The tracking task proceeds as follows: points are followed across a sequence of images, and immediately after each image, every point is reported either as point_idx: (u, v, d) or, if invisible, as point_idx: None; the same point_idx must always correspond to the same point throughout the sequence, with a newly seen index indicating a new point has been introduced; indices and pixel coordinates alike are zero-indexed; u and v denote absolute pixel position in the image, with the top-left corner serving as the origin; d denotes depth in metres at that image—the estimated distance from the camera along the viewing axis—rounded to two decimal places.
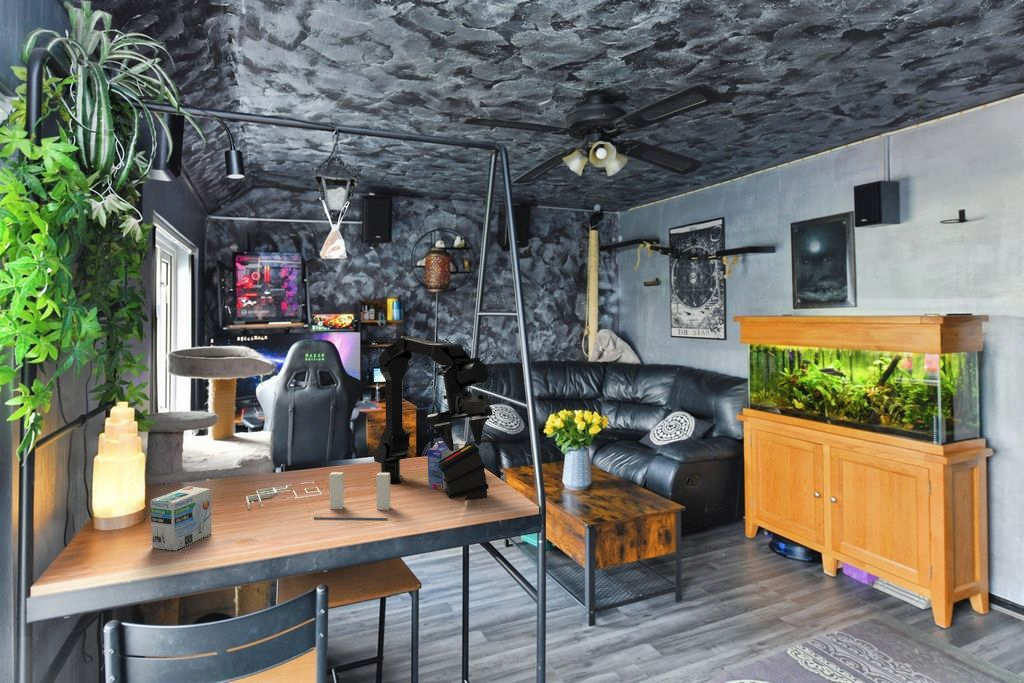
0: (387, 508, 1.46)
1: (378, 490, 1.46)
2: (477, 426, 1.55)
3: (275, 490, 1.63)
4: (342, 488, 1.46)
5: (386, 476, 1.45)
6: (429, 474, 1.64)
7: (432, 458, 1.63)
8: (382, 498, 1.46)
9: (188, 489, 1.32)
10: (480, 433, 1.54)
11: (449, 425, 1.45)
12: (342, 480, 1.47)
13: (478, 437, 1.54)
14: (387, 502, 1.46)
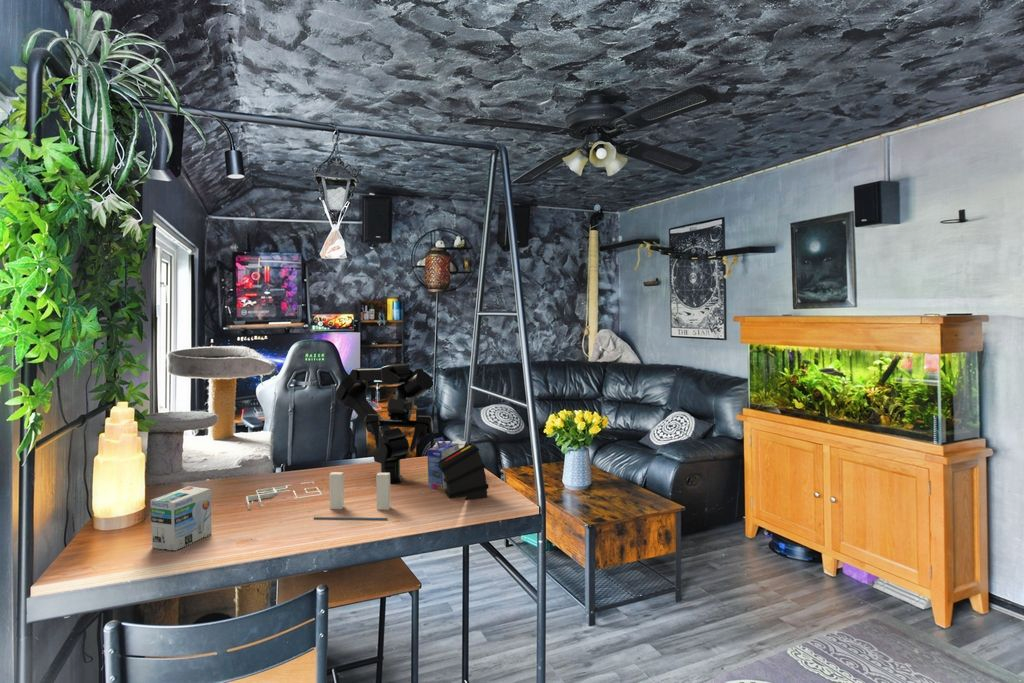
0: (387, 508, 1.46)
1: (378, 490, 1.46)
2: None
3: (275, 490, 1.63)
4: (342, 488, 1.46)
5: (386, 476, 1.45)
6: (429, 474, 1.64)
7: (432, 458, 1.63)
8: (382, 498, 1.46)
9: (188, 489, 1.32)
10: (413, 439, 1.58)
11: (374, 424, 1.59)
12: (342, 480, 1.47)
13: (411, 443, 1.57)
14: (387, 502, 1.46)
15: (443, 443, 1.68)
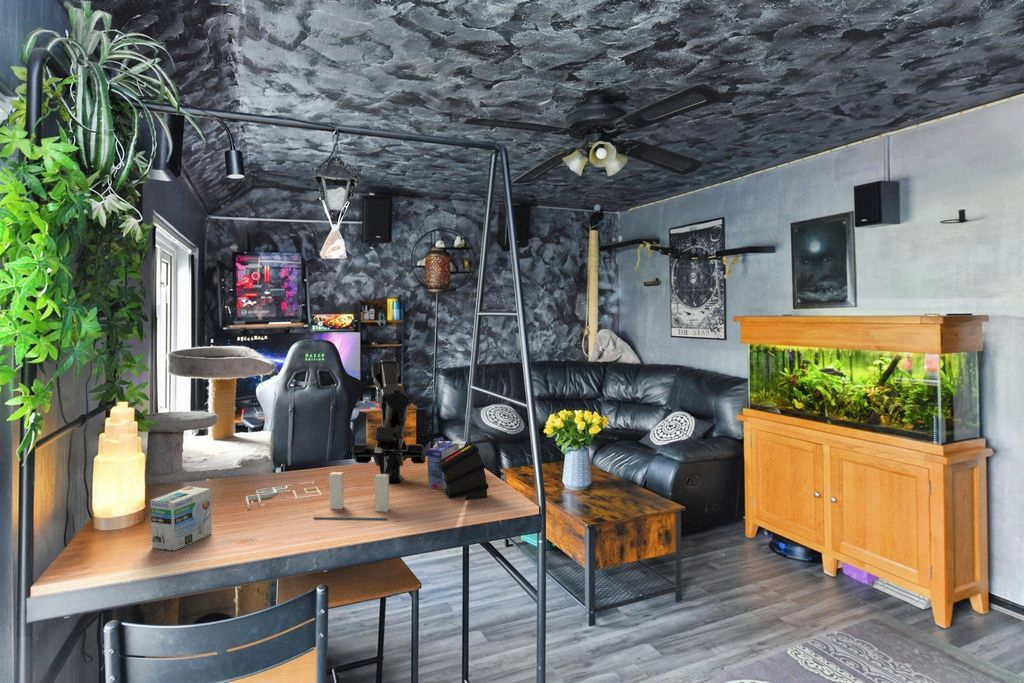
0: (386, 510, 1.44)
1: (377, 492, 1.44)
2: None
3: (275, 490, 1.63)
4: (342, 488, 1.46)
5: (385, 477, 1.44)
6: (429, 474, 1.64)
7: (432, 458, 1.63)
8: (380, 500, 1.44)
9: (188, 489, 1.32)
10: (387, 469, 1.48)
11: (378, 454, 1.49)
12: (342, 480, 1.47)
13: None
14: (386, 504, 1.44)
15: (443, 443, 1.68)
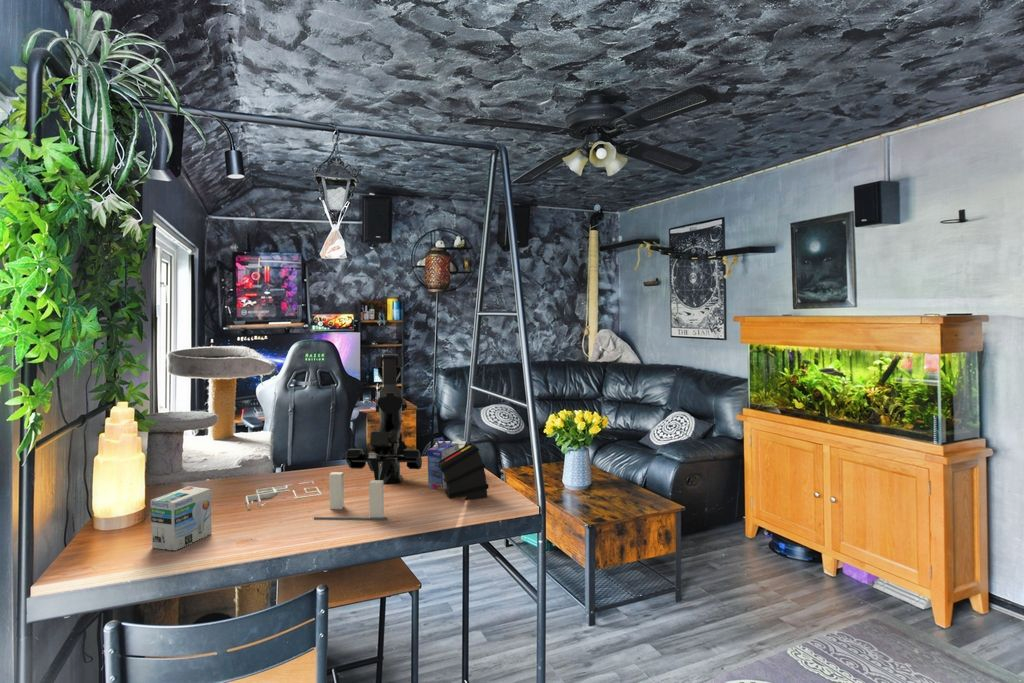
0: (380, 517, 1.39)
1: (371, 498, 1.39)
2: None
3: (275, 490, 1.63)
4: (342, 488, 1.46)
5: (379, 484, 1.39)
6: (429, 474, 1.64)
7: (432, 458, 1.63)
8: (374, 507, 1.39)
9: (188, 489, 1.32)
10: (381, 475, 1.42)
11: (373, 460, 1.44)
12: (342, 480, 1.47)
13: None
14: (380, 511, 1.39)
15: (443, 443, 1.68)
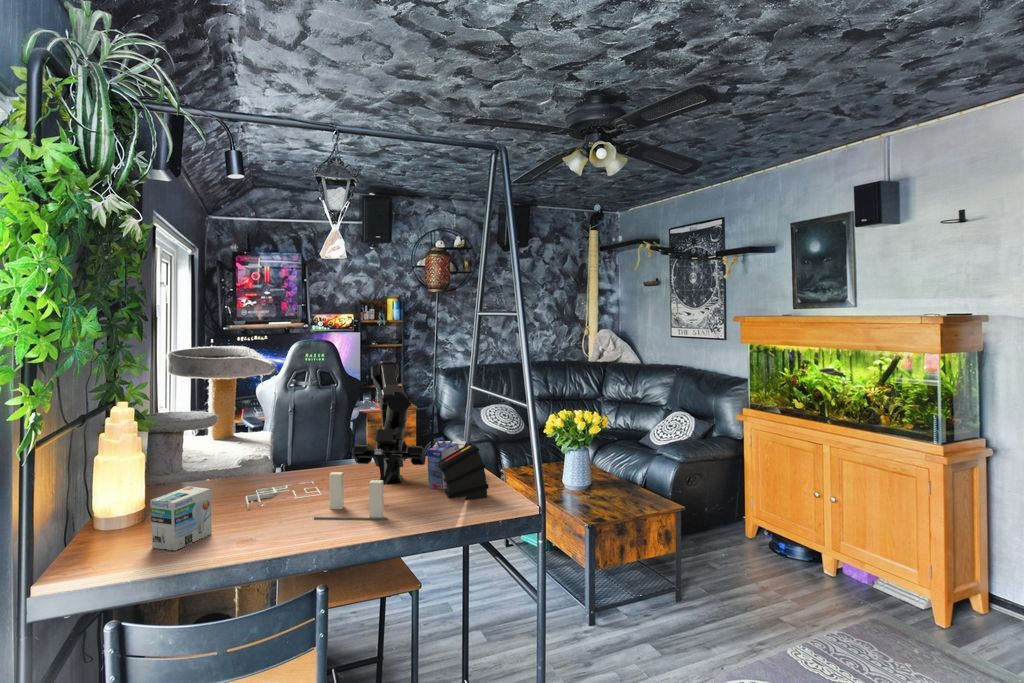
0: (380, 517, 1.39)
1: (371, 499, 1.39)
2: None
3: (275, 490, 1.63)
4: (342, 488, 1.46)
5: (379, 484, 1.39)
6: (429, 474, 1.64)
7: (432, 458, 1.63)
8: (374, 507, 1.39)
9: (188, 489, 1.32)
10: (387, 471, 1.49)
11: (378, 456, 1.50)
12: (342, 480, 1.47)
13: (384, 475, 1.48)
14: (380, 511, 1.39)
15: (443, 443, 1.68)
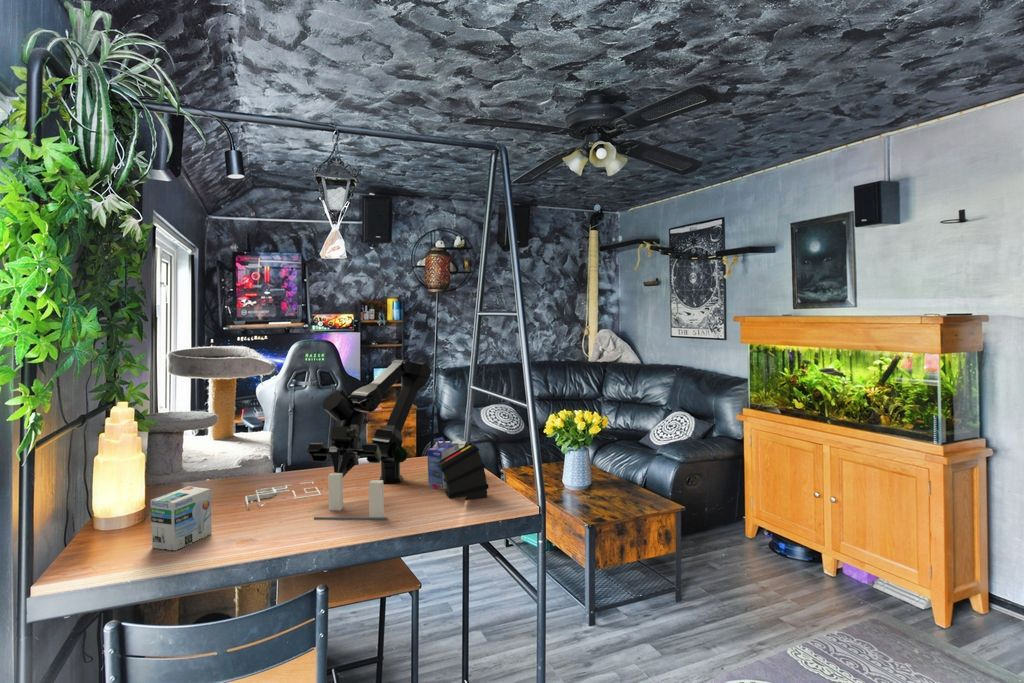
0: (380, 517, 1.39)
1: (371, 499, 1.39)
2: None
3: (274, 490, 1.63)
4: (341, 489, 1.46)
5: (379, 484, 1.39)
6: (429, 474, 1.64)
7: (432, 458, 1.63)
8: (374, 507, 1.39)
9: (188, 489, 1.32)
10: (341, 468, 1.49)
11: (333, 453, 1.50)
12: (342, 480, 1.46)
13: None
14: (380, 511, 1.39)
15: (443, 443, 1.68)
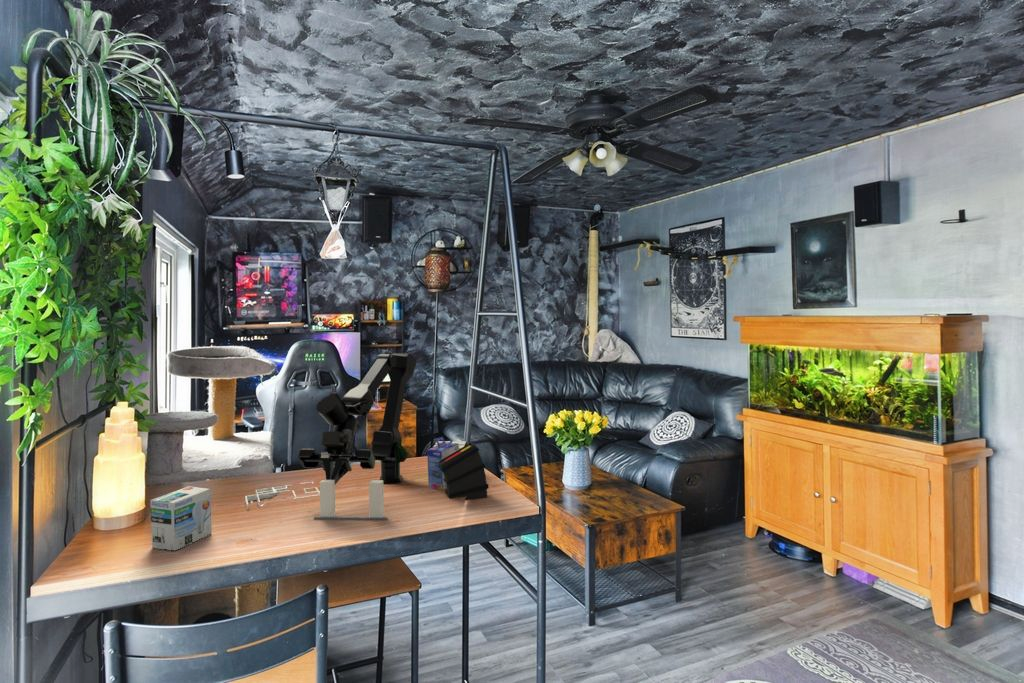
0: (380, 517, 1.39)
1: (371, 499, 1.39)
2: None
3: (274, 490, 1.63)
4: (332, 496, 1.40)
5: (379, 484, 1.39)
6: (429, 474, 1.64)
7: (432, 458, 1.63)
8: (374, 507, 1.39)
9: (188, 489, 1.32)
10: (333, 475, 1.43)
11: (324, 459, 1.44)
12: (333, 488, 1.41)
13: None
14: (380, 511, 1.39)
15: (443, 443, 1.68)
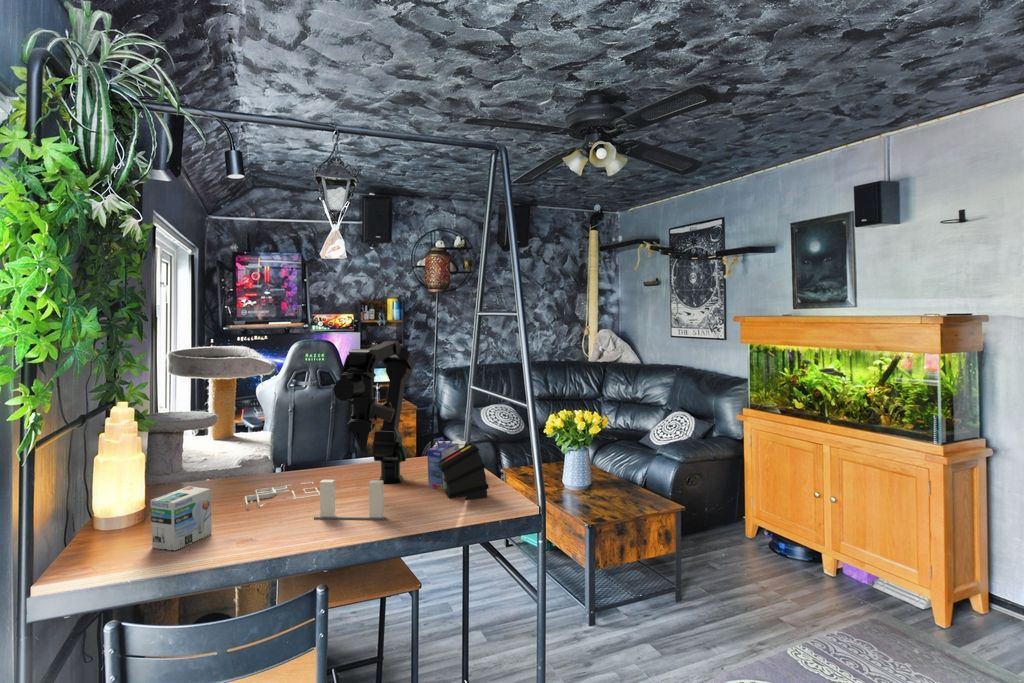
0: (380, 517, 1.39)
1: (371, 499, 1.39)
2: None
3: (274, 490, 1.63)
4: (333, 496, 1.40)
5: (379, 484, 1.39)
6: (429, 474, 1.64)
7: (432, 458, 1.63)
8: (374, 507, 1.39)
9: (188, 489, 1.32)
10: (367, 440, 1.58)
11: (372, 429, 1.55)
12: (334, 488, 1.41)
13: (366, 444, 1.57)
14: (380, 511, 1.39)
15: (443, 443, 1.68)
